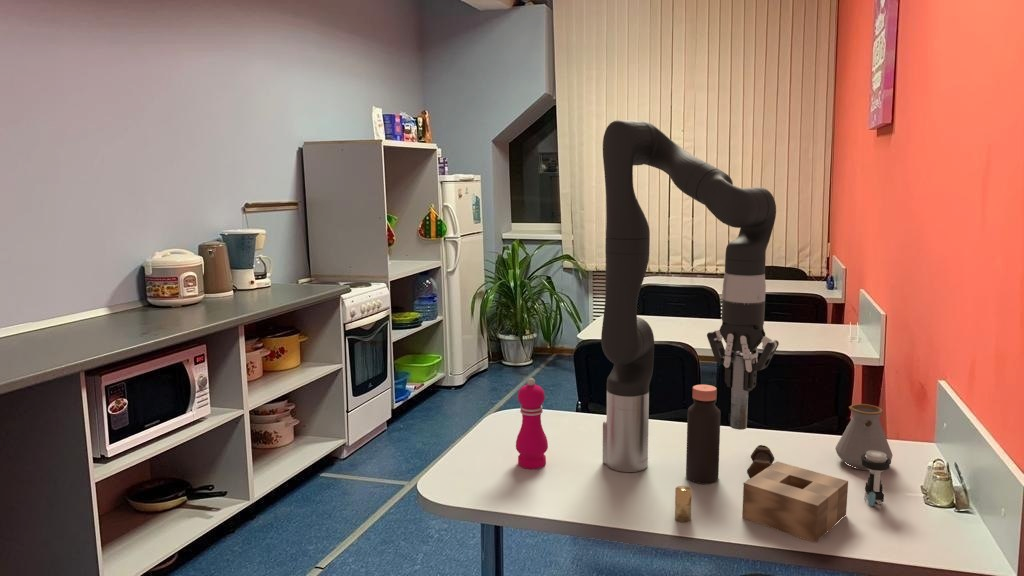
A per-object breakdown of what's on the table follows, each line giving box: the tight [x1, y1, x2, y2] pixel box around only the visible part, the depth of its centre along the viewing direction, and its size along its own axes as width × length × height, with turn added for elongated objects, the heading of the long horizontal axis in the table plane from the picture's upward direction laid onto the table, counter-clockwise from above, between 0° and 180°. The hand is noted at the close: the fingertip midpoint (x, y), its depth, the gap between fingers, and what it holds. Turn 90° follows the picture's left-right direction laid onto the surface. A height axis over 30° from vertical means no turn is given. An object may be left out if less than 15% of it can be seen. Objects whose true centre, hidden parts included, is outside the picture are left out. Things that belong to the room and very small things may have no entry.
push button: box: [861, 450, 892, 510], centre depth 147 cm, size 7×5×10 cm
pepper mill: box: [515, 377, 549, 470], centre depth 168 cm, size 7×7×20 cm
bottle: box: [685, 384, 721, 485], centre depth 159 cm, size 7×7×20 cm
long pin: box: [729, 352, 749, 431], centre depth 141 cm, size 3×3×14 cm
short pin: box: [674, 485, 693, 524], centre depth 142 cm, size 3×3×6 cm
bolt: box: [746, 444, 775, 479], centre depth 163 cm, size 6×5×15 cm
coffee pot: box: [835, 403, 893, 472], centre depth 161 cm, size 21×12×15 cm, turn 156°
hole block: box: [741, 460, 849, 543], centre depth 142 cm, size 14×14×7 cm
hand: (739, 387), depth 141 cm, fingers closed on long pin, 3 cm apart
